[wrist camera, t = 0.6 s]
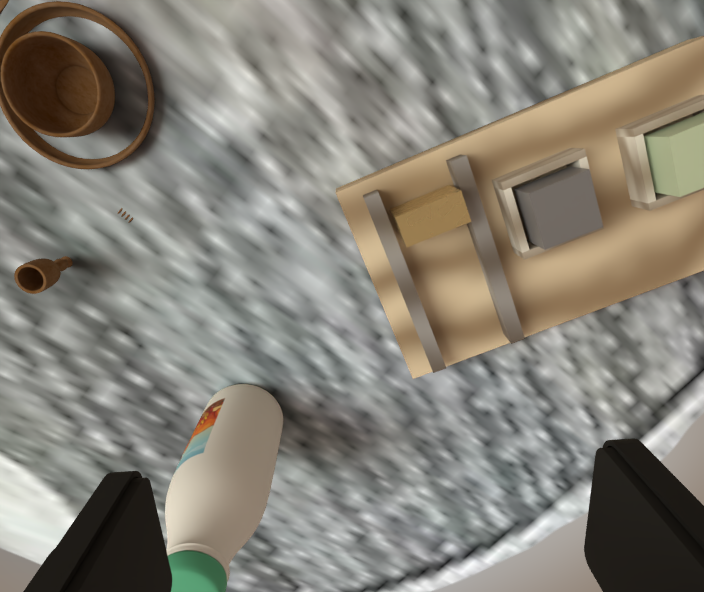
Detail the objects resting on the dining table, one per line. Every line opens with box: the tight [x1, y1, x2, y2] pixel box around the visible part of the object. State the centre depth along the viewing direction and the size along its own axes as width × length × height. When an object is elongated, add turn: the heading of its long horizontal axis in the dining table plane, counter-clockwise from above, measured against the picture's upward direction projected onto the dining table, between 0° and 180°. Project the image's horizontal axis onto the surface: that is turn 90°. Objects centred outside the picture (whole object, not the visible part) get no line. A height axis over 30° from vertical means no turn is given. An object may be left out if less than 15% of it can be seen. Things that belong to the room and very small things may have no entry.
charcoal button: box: [514, 166, 603, 250], centre depth 36 cm, size 4×4×3 cm
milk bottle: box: [165, 384, 283, 592], centre depth 38 cm, size 8×8×20 cm
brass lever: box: [390, 185, 471, 247], centre depth 36 cm, size 2×5×4 cm, turn 112°
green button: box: [644, 113, 704, 197], centre depth 35 cm, size 4×4×3 cm
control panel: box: [336, 36, 704, 379], centre depth 40 cm, size 18×30×5 cm, turn 112°
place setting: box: [0, 0, 155, 294], centre depth 37 cm, size 18×20×6 cm
